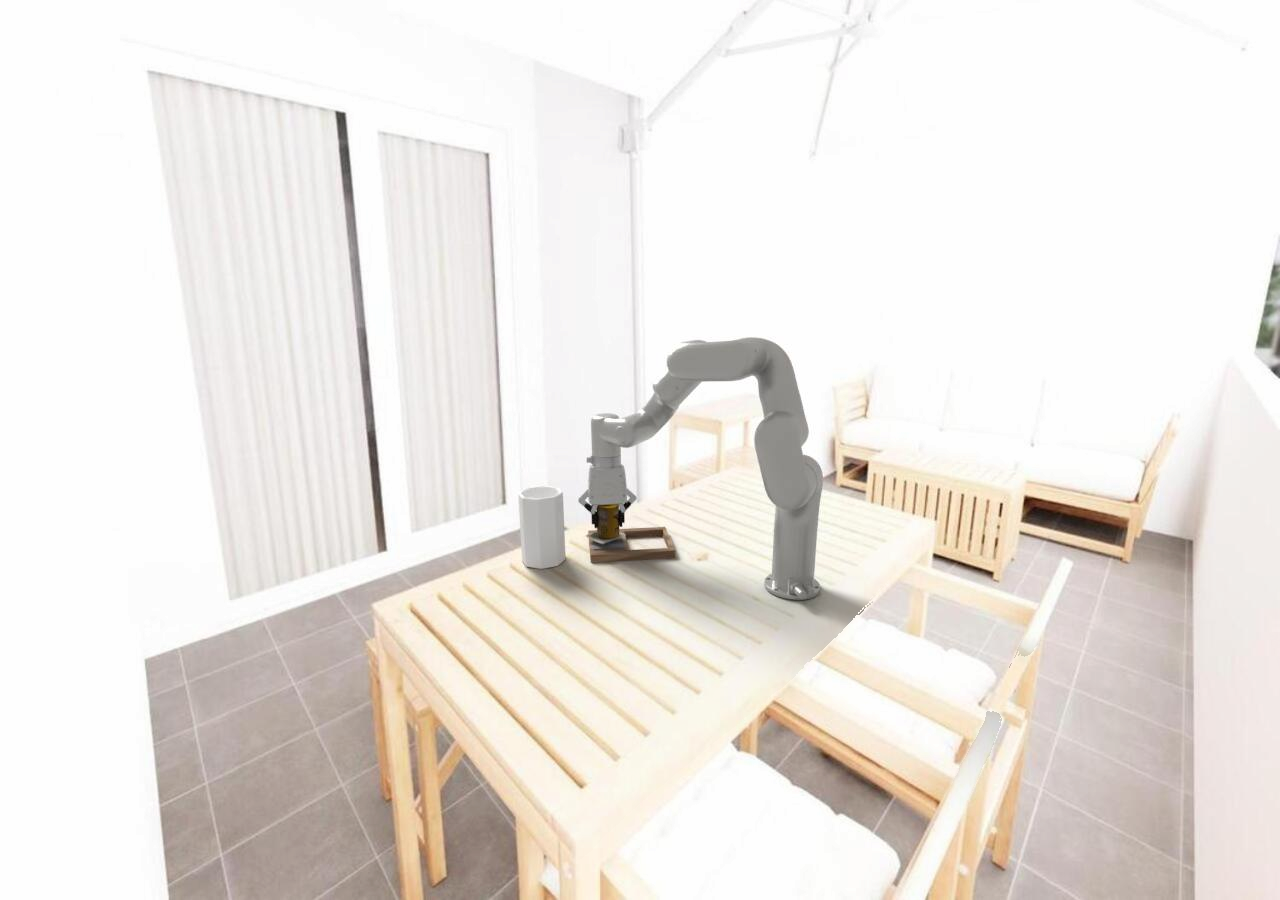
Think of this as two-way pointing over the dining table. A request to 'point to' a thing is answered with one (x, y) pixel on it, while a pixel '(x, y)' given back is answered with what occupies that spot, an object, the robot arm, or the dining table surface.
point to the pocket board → (619, 547)
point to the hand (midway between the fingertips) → (608, 525)
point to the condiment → (606, 524)
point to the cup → (542, 526)
